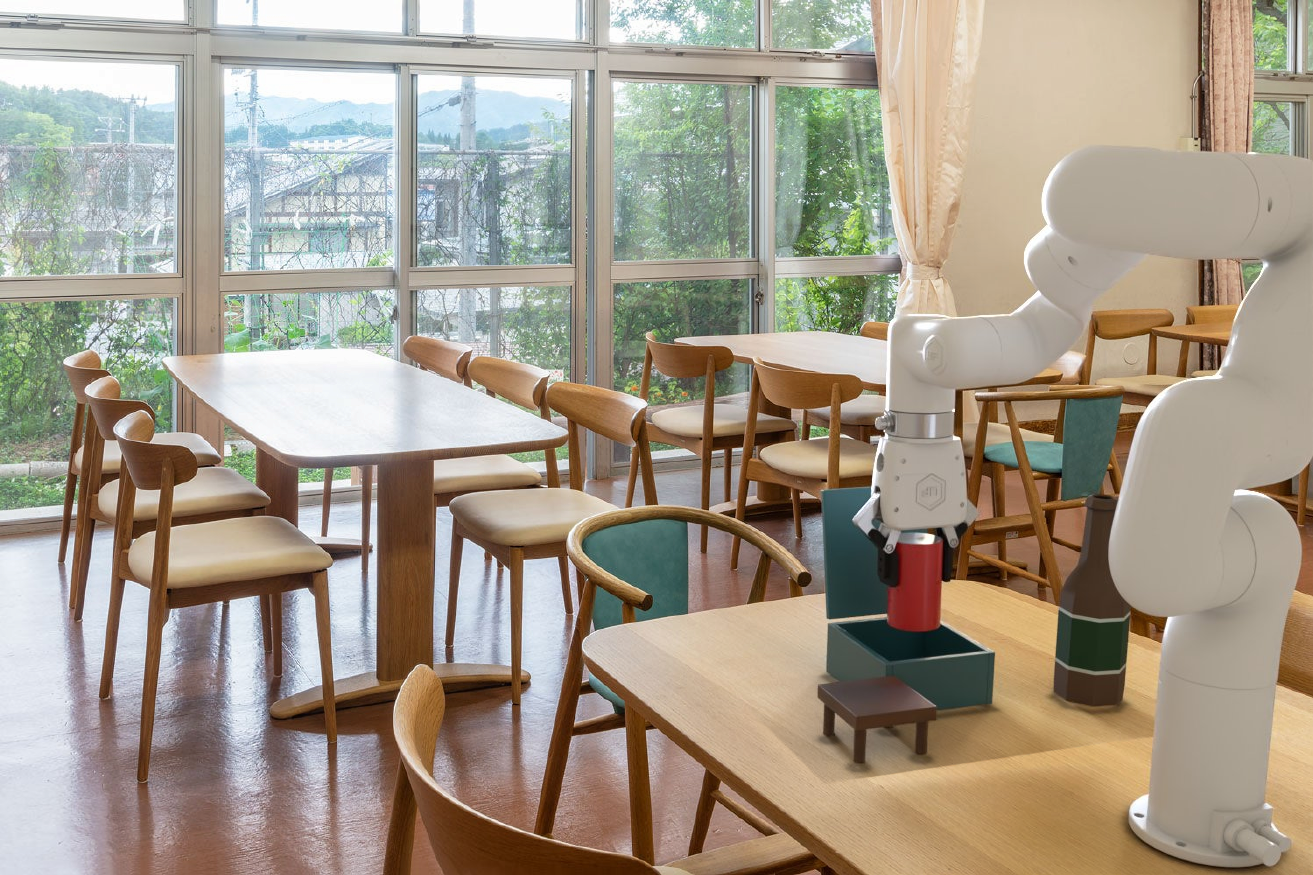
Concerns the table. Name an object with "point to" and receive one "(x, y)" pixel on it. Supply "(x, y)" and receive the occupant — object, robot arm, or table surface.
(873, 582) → the lid
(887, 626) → the teal open box
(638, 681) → the table surface
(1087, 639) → the beer bottle
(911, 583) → the soda can
